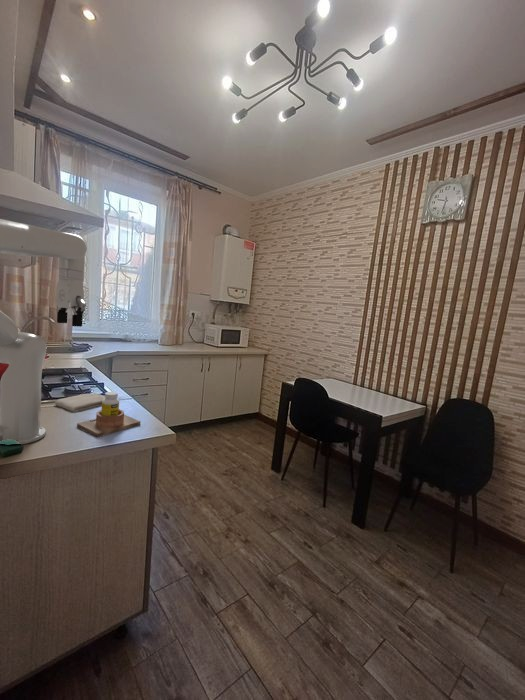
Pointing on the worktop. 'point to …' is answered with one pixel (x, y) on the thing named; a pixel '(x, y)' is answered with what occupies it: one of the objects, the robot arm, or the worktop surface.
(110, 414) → the supplement bottle
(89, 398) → the washcloth
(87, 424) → the cup station
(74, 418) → the worktop surface
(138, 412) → the worktop surface
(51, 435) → the worktop surface
